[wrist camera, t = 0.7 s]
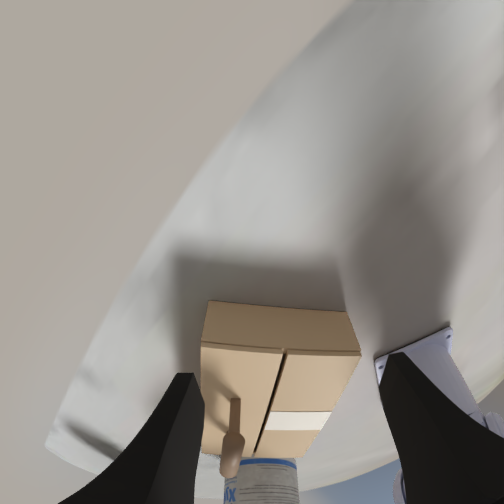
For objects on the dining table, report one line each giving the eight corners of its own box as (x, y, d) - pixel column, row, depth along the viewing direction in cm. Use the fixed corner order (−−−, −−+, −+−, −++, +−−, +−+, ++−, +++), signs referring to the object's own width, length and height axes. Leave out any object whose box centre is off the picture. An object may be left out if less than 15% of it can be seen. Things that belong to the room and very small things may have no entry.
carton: (346, 312, 21) (363, 355, 17) (298, 423, 28) (302, 458, 24) (208, 300, 21) (199, 346, 17) (205, 417, 28) (201, 453, 24)
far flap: (202, 449, 24) (198, 490, 20) (201, 342, 17) (190, 406, 13) (251, 453, 24) (251, 494, 20) (282, 349, 17) (288, 414, 13)
